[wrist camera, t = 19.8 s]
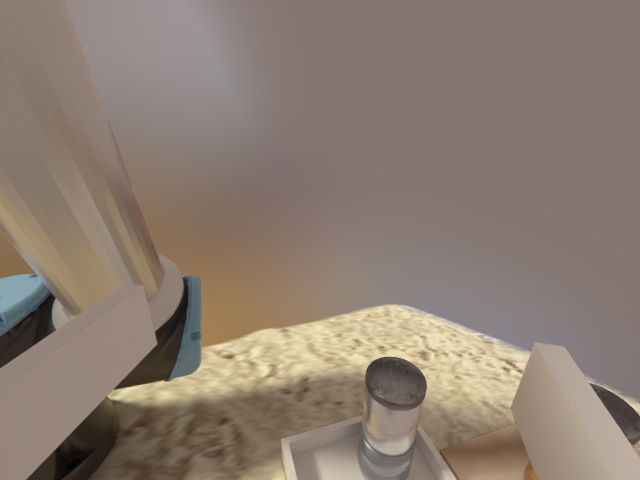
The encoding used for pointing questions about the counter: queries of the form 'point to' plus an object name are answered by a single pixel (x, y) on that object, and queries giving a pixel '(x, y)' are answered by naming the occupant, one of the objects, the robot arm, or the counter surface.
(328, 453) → the white shaker tray
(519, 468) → the board
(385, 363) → the clear grey lidded jar
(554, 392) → the robot arm
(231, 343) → the counter surface
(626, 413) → the lidded honey jar
